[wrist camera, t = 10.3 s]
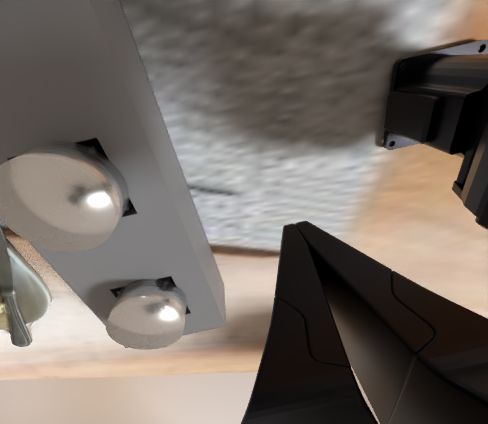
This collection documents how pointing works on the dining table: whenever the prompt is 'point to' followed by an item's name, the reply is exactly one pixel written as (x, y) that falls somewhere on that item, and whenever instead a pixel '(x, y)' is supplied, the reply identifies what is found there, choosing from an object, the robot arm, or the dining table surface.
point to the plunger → (148, 314)
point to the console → (105, 149)
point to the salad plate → (20, 294)
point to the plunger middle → (63, 195)
